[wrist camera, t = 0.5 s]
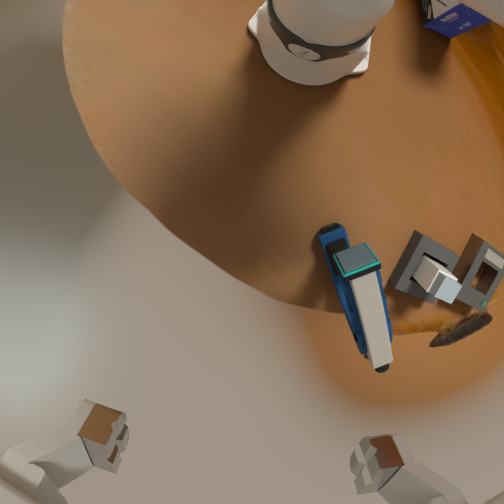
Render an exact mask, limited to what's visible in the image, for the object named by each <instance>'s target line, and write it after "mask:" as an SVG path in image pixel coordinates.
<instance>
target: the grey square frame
mask: <svg viewBox="0 0 504 504" xmlns="http://www.w3.org/2000/svg"><path fill="white" fill-rule="evenodd" d="M424 252H425V253H427V254H429V255H431V256H433V257H435V258H437V259H438V260H439V263H440V264H441V265H442V266H443V267H444V268H446V269H447V270H448V271H449V272H450V273H452V271H453V269H454V268H455V266H456V264H457V262H458V260H459V258H460V257H459V256H458V255H457V254H455V253H454V252H453V251H451V250H449V249H448V248H446V247H444V246H443V245H441V244H439V243H437V242H436V241H434V240H432V239H430V238H429V237H427V236H425V235H423V234H421V233H420V232H418V231H416V230H415V231H414V233H413V235H412V237H411V239H410V241H409V243H408V245H407V247H406V249H405V251H404V253H403V255H402V257H401V258H400V260H399V262H398V264H397V266H396V268H395V270H394V271H393V273H392V275H391V277H390V279H389V282H390V283H391V284H392V286H393V287H394V288H395V289H397V290H400V291H402V292H405V293H407V294H410V295H412V296H414V297H417V298H419V299H422V300H424V301H426V302H429V303H431V304H434V302H435V301H436V299H437V298H436V297H434V296H433V295H432V294H431V293H429V292H427V291H426V290H425V289H424V288H423V287H422V286H421V285H420V284H419V283H418V282H417V281H416V280H415V278H413V277H411V275H412V274H413V272H414V270H415V268H416V266H417V264H418V263H419V261H420V259H421V257H422V255H423V253H424Z"/></svg>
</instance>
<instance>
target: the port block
mask: <svg viewBox="0 0 504 504" xmlns="http://www.w3.org/2000/svg"><path fill="white" fill-rule="evenodd" d="M483 261H484V262H485V263H487V264H488V265H487V267H486V269H485V270H484V272H483V274H482V276H481V278H480V280H479V282H478V283H477V285H476V286H474V285H473V284H471V282H472V280H473V279H474V277H475V275H476V273H477V271H478V269H479V267H480V265H481V263H482V262H483ZM452 274H453V275H454V276H455V277H456V278H457V279H458V280H457V282H459V283H460V284H461V285H462V287H461V289H460V291H459V292H458V294H457V296H456V297H455V299H457V300H460V301H462V302H464V303H466V304H468V305H470V306H472V307H474V308H476V309H478V310H480V311H482V312H483V311H484V309H485V308H486V306H487V304H488V303H489V301H490V299H491V298H492V296H493V294H494V292H495V291H496V289H497V287H498V285H499V283H500V281H501V280H502V278H503V276H504V255H503V254H501V253H500V252H499V251H498V250H496V249H495V248H494V247H492V246H491V245H490V244H488V243H487V242H486V241H484V240H483V239H481V238H479V237H478V236H476V235H474V234H472V235H471V237H470V239H469V242H468V244H467V246H466V248H465V250H464V252H463V254H462V256H461V258H460V260H459V262H458V263H457V265H456V267H455V269H454V271H453V273H452Z"/></svg>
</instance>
